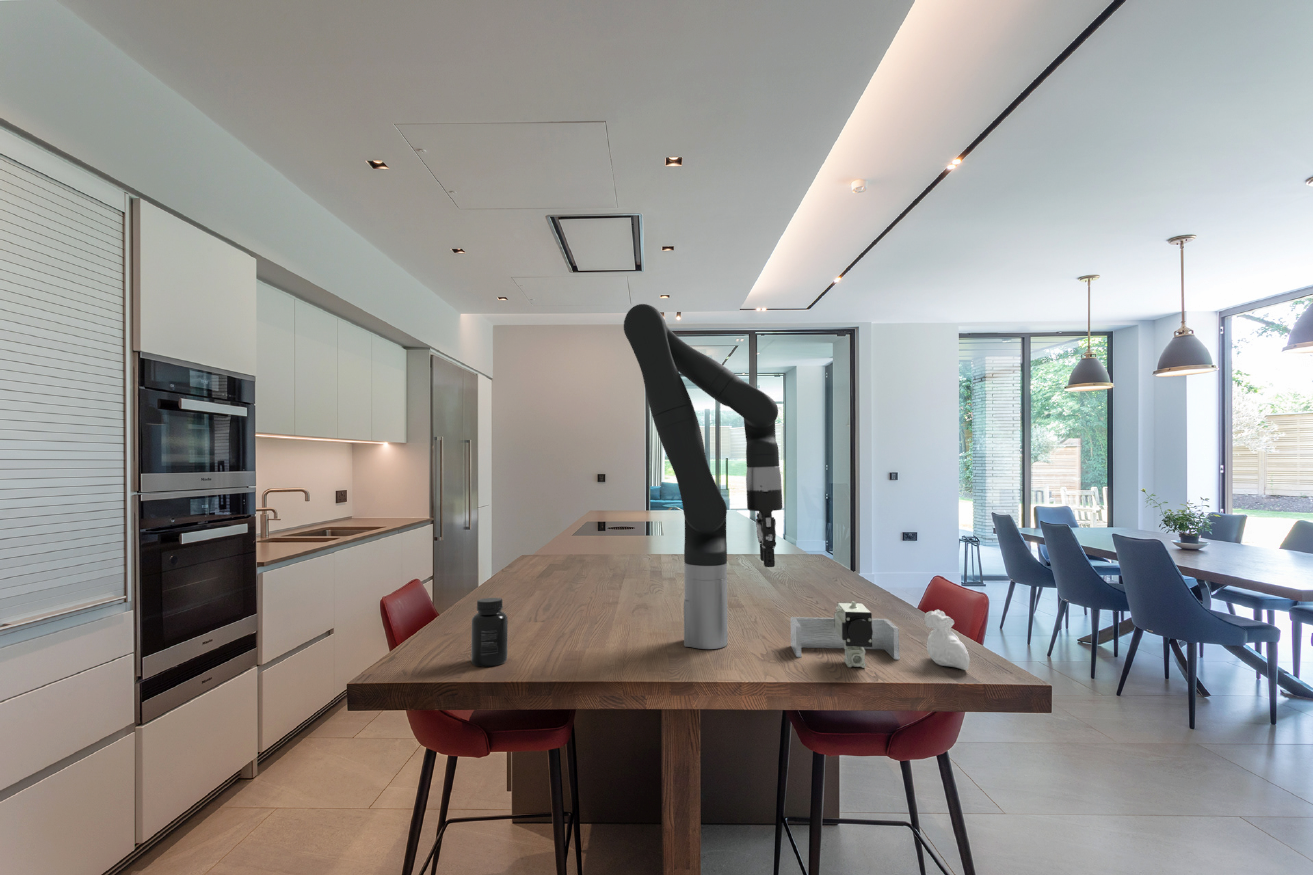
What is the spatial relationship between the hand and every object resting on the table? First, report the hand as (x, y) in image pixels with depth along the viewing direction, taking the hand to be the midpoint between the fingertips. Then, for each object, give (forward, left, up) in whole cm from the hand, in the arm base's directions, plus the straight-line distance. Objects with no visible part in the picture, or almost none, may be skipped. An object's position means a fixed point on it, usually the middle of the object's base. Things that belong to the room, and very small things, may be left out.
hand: (767, 563), depth 130 cm
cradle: (+15, -4, -17) cm, 23 cm away
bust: (+33, -10, -17) cm, 38 cm away
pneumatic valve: (+15, -12, -17) cm, 26 cm away
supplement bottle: (-55, -16, -17) cm, 60 cm away
